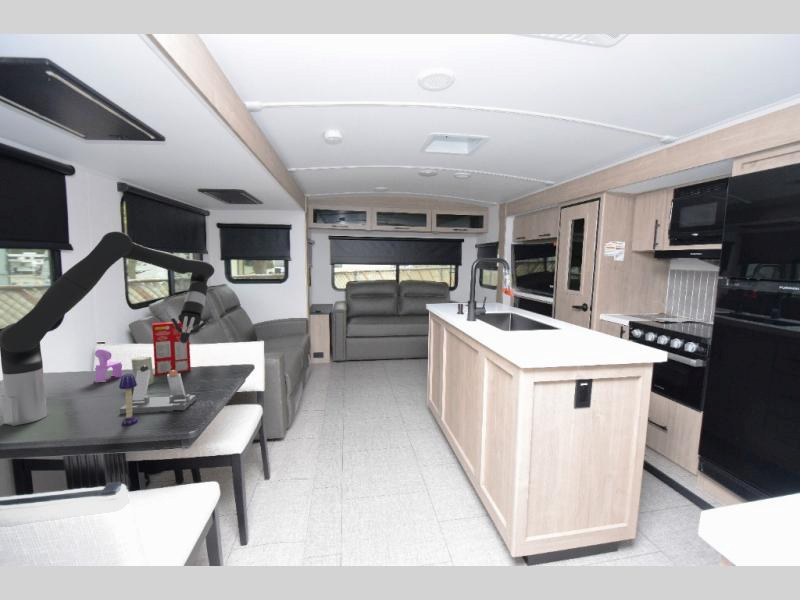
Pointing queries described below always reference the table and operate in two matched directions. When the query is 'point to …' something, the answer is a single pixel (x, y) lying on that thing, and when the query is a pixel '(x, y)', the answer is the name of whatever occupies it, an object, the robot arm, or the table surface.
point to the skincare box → (140, 362)
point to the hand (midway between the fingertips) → (183, 342)
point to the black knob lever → (141, 384)
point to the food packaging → (169, 349)
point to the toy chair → (106, 366)
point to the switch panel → (159, 404)
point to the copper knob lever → (176, 385)
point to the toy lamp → (128, 397)
